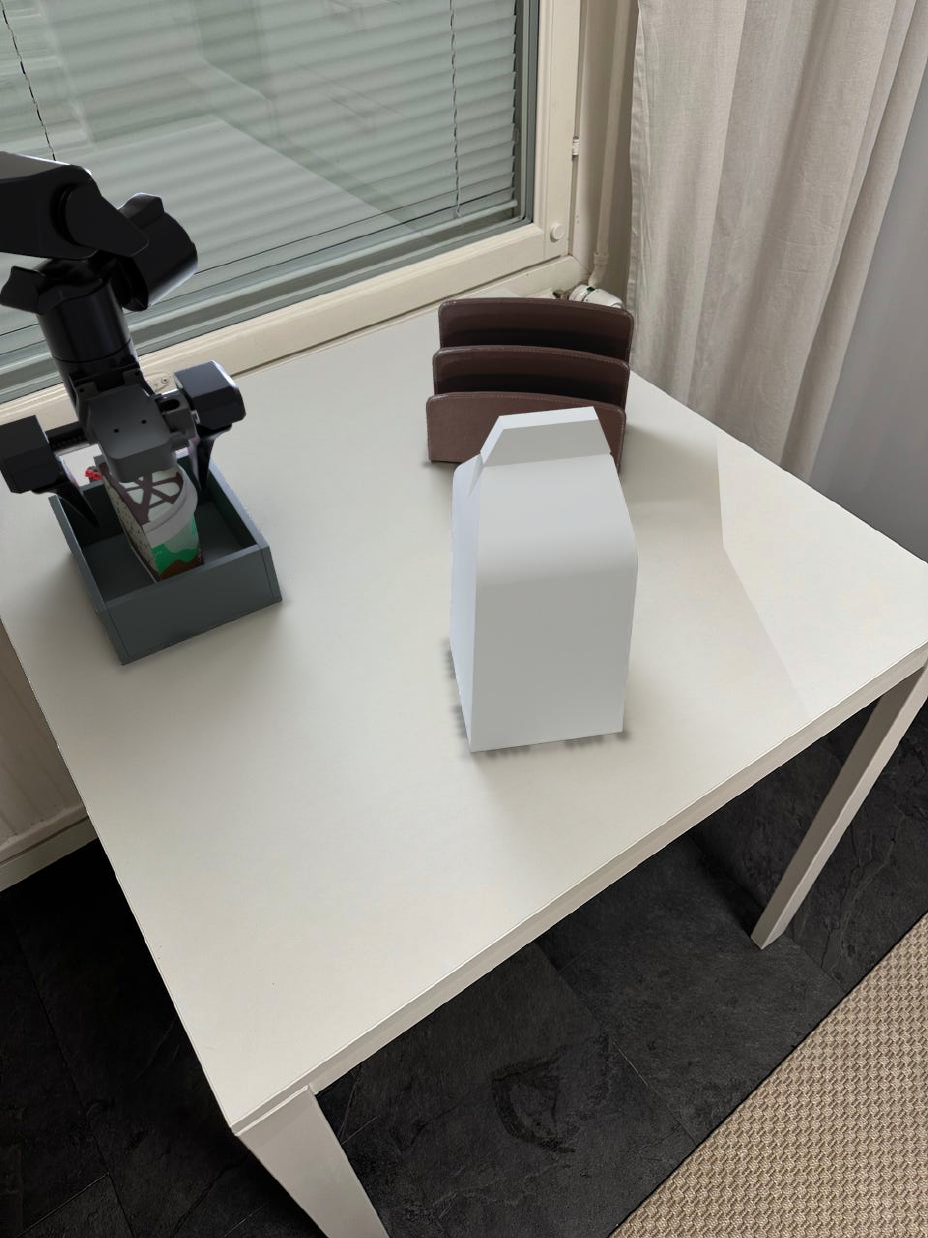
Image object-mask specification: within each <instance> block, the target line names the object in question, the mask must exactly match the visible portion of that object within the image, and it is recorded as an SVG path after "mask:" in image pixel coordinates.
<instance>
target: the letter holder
mask: <svg viewBox="0 0 928 1238" xmlns="http://www.w3.org/2000/svg"><path fill="white" fill-rule="evenodd" d="M437 320H438V321H437V322H438V323H437V324H438V337H439V338H438V339H439V349H437V350H436V352H435V353H433V355H432V359H431V362H432V363H431V365H432V380H433V395H431V396H429V397H428V398H427V400H426V401H425V402H426V403H425V415H426V416H425V417H426V433H427V438H426V439H427V455H428V460H429V461H439V462H450V463H451V462H452V463H462V464H463V463H465V462H466V461H468V460H470V459H471V458H473V457H475V456H477V455H478V454H481V453H480V451H481V449H482V447H483V445H484V444H485V442H486V440H487V438H488V436H489V434H490V432H491V431H492V429H493V427H494V425H495V423H496V421H497V419H498V418H499V416H505V415H514V414H524V413H534V412H543V411H553V410H563V409H573V408H582V407H592V406H593V407H594V410H595V412H596V414H597V417H598V419H599V422H600V424H601V427H602V429H603V432H604V435H605V437H606V440H607V442H608V445H609V448H610V450H611V452H610V455H611V456H612V457H613V460H614V463H615V467H616V470H617V474H618V475H619V474H620V472H621V461H622V455H623V447H624V440H625V434H626V427H627V420H628V418H627V416H628V415H627V412H626V407H627V400H628V392H629V384H630V377H631V366H630V357H631V350H632V344H633V337H634V331H635V319H634V316H633V315H632V313H631V312H630V311H628V310H627V309H624V308H621V307H617V306H611V305H606V304H601V303H595V302H594V303H593V302H588V301H582V300H573V299H562V298H554V297H553V298H552V297H550V298H549V297H528V296H527V297H526V296H525V297H523V296H489V297H488V296H487V297H486V296H485V297H484V296H483V297H465V298H454V299H447V300H445V301H442V302H441V303H440V305H438V309H437Z"/></svg>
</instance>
